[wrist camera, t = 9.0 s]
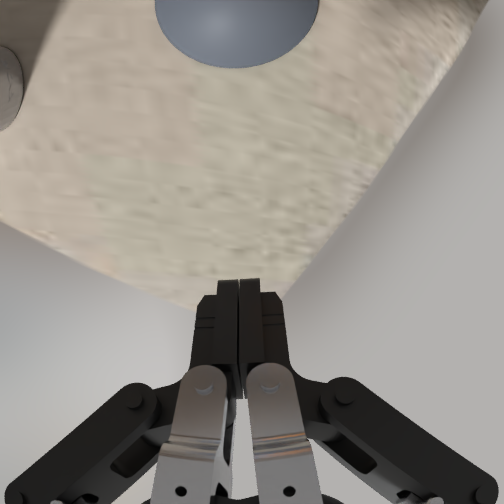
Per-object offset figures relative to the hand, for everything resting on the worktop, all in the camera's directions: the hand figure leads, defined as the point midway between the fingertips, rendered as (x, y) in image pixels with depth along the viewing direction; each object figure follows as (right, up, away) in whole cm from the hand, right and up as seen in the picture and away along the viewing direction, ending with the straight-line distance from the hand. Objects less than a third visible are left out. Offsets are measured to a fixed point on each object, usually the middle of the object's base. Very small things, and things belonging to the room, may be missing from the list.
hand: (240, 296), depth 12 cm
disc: (-1, +20, +5) cm, 21 cm away
